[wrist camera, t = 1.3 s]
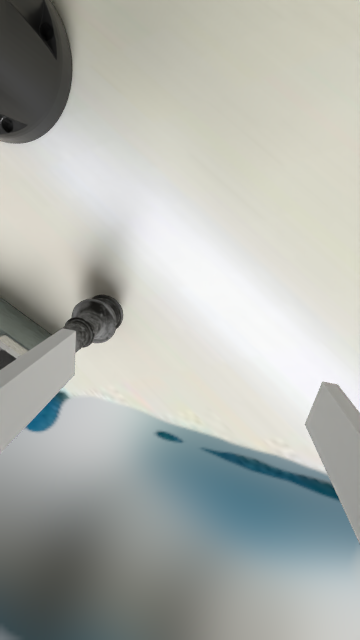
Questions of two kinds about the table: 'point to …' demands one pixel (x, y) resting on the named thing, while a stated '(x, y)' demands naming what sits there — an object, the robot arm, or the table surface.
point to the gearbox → (17, 334)
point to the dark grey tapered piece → (95, 320)
